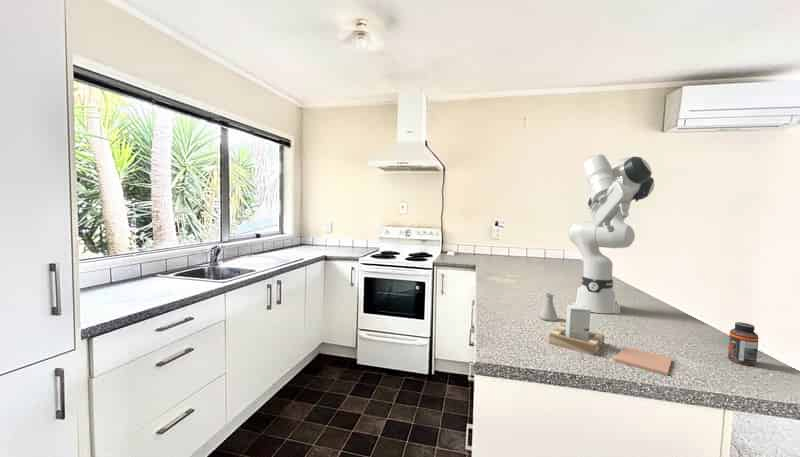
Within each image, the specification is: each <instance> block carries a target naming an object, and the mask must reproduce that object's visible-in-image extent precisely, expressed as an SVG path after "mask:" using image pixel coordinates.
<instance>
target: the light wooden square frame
mask: <svg viewBox="0 0 800 457" xmlns="http://www.w3.org/2000/svg"><path fill="white" fill-rule="evenodd" d="M565 333H566V324H565V325H564V324H562V325H560V326H558V328H556V329H554V330H553V331H551V332H550V333H549V334H548V344H550V345H551V344H552V345H555V346H558V347H562V348H565V349H569V350H572V351H576V352H580V353H583V354H588V355H591V356H594V355H596V354H597V352H598V351H599V350H600V348H602V347H603V345H604V344H605V334H604V333H598V332H595V331H590V330H589V338H588V342H587V341H583V340H579V339H575V338H571V337H567V336H565Z"/></svg>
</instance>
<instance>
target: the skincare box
mask: <svg viewBox="0 0 800 457" xmlns="http://www.w3.org/2000/svg"><path fill="white" fill-rule="evenodd" d="M566 307H567V308H566V317H565V318H566V320H565V326H566V333H565V336H567V337H571V338H575V339H579V340H583V341H587V342H588V338H589V331H590V320H591V312H590V309H589V308H587V307H585V306H576V305H573V304H567V306H566Z"/></svg>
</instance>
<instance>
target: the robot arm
mask: <svg viewBox="0 0 800 457" xmlns="http://www.w3.org/2000/svg"><path fill="white" fill-rule="evenodd" d="M583 170H584V171H583V172H584V175H585V178H586V181H587V182H588V184H589V189H590V195H589V198H588V199H589V200H588V201H587V208H588V209H589V210H590V216H591V219H592V221H580V222H574V223H573V224H571V225H570V227H569V228H568V231H567V232H568V235H567V236H568V239H569V240H570V242H571V243H572V244H574V245H575V247H577V249H578V250H579V252H580V253H581V256H582V260H583V261H582V262H583V275H582V276H581V285H580V286H579V287H578V288H577V292H576V293H577V294H576V301H574V302H572V305H576V306H585V307H587V308H589V309H590V313H597V314H617V315H620V314H621V306H620V304H619V303H618V301H616V293H615V291H614V289H613V287H614V280H613V267H614V266H613V265H614V264H613V262H612V260H611V259H610V258H609V257H608V256H607V255H604V253H602V252H601V251H600V248H607V249H608V248H609V249H622V248H623V249H624V248H625V249H626V248H629V247H630V246H631V245H632V244H633V243H634V241H635V236H636V234H635V231H634V229H633V228H632V226H631V225H629V224H627V223H626V222H624V221H625V219H626V218H627V217H628V216H629V215H630V214H629V210H630V206H631V203H632V201H635V203H636V202H638V201H639V200H644V199H646V198H647V197H649V195H651V194H652V192H653V191H654V188H655V180H654V178H653V177H652V174H653V172H652V168H651V166H650V164H649V163H648V162H647V161H646V159H644V158H643V157H640V156H630V157H623V158H621V159H619V160H618V161H616V162H615V163H614V164H613V165H611V164H610V162H609V161H608V159H607V157H606V155H604V154H602V153H601V154H595V155H592V156H591V157H589V158H587V159H586V160H585V161H584V163H583Z"/></svg>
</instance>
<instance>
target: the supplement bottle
mask: <svg viewBox="0 0 800 457" xmlns="http://www.w3.org/2000/svg"><path fill="white" fill-rule="evenodd" d="M734 324H735V325H734V328H731V329H730V331H729V339H728V341H729V342H728V351H727V358H728V359H729V360H730V361H731V362H733V363H736V364H739V365H743V366H750V367H751V366H752V367H753V366H755V365H757V361H758V360H757V359H758V352H759V351H758V348H759V339H760V338H759V334H757V333H756V332H755V325H754V324H751V323H747V322H741V321H738V322H737V321H735V323H734Z"/></svg>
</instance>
